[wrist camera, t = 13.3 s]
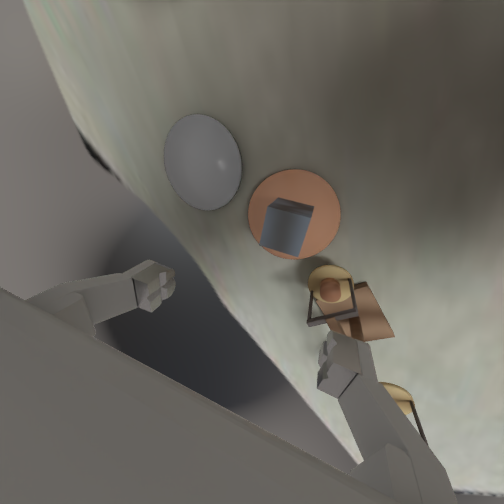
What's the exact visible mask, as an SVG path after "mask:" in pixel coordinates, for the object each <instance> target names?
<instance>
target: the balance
mask: <svg viewBox="0 0 504 504" xmlns="http://www.w3.org/2000/svg"><path fill="white" fill-rule="evenodd" d="M308 288H309V291H310V292H311V293H310V302H309V310H308V319H307V324H308V326H309V327H311V326H316V325H320V324H325V323H327V324H328V326H329V328H330V330H333V331H336V332H338V333H341V334H344V335H346V336H349V337H352V338H354V339H357V340H360V341H363V342H366V341H372V340H378V339H385V338H391V337H395V336H394V333H393V331H392V329H391V327H390V325H389V323H388V321H387V319H386V318H385V316H384V314H383V312H382V310H381V308H380V306H379V305H378V303H377V301H376V299H375V297H374V295H373V293H372V291H371V290H370V288H369V286H368V284H367V282H363V283H360V284H357V285H354V282H353V278H352V276H351V275H350V274H349V272H348V271H346V270H345V269H343V268H342V267H339V266H336V265H324V266H320V267H318V268H316V269H315V270H313V271H312V272H311V274H310V276H309V279H308ZM313 296H314V297H315V298H316V302H317V304H318V305H319V307H320V309H321V310H322V312H323V313H324V316H319V317H315V318H311V314H312V303H313ZM379 383H381V384H383V386H384V387H385V388H386V390H387V391H388V393H389V394H390V395H391V397H392V398H393V399H394V401H395V402H396V403H397V405H398V406H399V407H400V409H401V410H402V411H403V413H404V414H405V415H407V414H409V413H411V412H413V415H414V418H415V420H416V423H417V426H418V429H419V432H420V435H421V437H422V438H423V440H424V441H425V443H426V444H427V445H428V443H427V440H426V437H425V435H424V432H423V429H422V426H421V423H420V421H419V418H418V415H417V412H416V409H415V404H414V401H413V398H412V396H411V395H410V393H409V392H408V391H406V390H405V389H403V388H402V387H400V386H397V385H395V384H391V383H386V382H379ZM428 447H429V446H428Z"/></svg>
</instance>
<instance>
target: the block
mask: <svg viewBox="0 0 504 504" xmlns="http://www.w3.org/2000/svg"><path fill="white" fill-rule="evenodd" d="M313 209H314V206H311V205H307V204H303V203H299V202H295V201H291V200H287V199H283V198H279V197H278V198H277V199H276V200H275V201H273V202H272V203H271V204H270V205H269V206H267V210H266V215H265V220H264V224H263V229H262V234H261V239H260V243H259V245H260V246H263V247H266V248H269V249H273V250H276V251H279V252H282V253H285V254H289V255H292V256H295V257H298V256H299V253H300V250H301V247H302V244H303V241H304V239H305V236H306V233H307V230H308V227H309V224H310V221H311V217H312V213H313Z"/></svg>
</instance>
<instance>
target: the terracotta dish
mask: <svg viewBox="0 0 504 504" xmlns="http://www.w3.org/2000/svg"><path fill="white" fill-rule="evenodd" d="M278 197H279V198H283V199H287V200H291V201H295V202H299V203H303V204H307V205H311V206H314V209H313V213H312V217H311V221H310V224H309V227H308V230H307V233H306V236H305V239H304V241H303V244H302V247H301V250H300V253H299V256H298V257H295V256H292V255H289V254H285V253H282V252H279V251H276V250H273V249H269V248H266V247H263V246H262V247H263V248H264V249H265V250H267V251H268V252H270V253H271V254H273V255H275V256H278V257H281V258H285V259H304V258H308V257H311V256H313V255H315V254H317V253H319V252H321V251H322V250H323V249H325V248H326V247H327V246H328V245H329V244H330V243H331V241H332V240H333V238H334V237H335V235H336V233H337V231H338V228H339V224H340V218H341V211H340V205H339V201H338V198H337V196H336V193H335V192H334V190H333V188H332V187H331V186H330V185H329V184H328V182H326V181H325V180H324V179H323V178H321V177H320V176H318V175H317V174H314V173H312V172H309V171H306V170H300V169H290V170H284V171H281V172H278V173H275V174H273V175H271V176H270V177H268V178H267V179H265V180H264V181H263V182H262V183H261V184H260V185H259V186H258V187H257V189H256V190H255V192H254V194H253V195H252V198H251V200H250V204H249V209H248V220H249V225H250V229H251V231H252V234H253V235H254V237H255V239H256V240H257V242H258V243H260V239H261V234H262V229H263V224H264V220H265V215H266V210H267V206H269V205H270V204H271V203H272V202H273V201H275V200H276V199H277V198H278Z"/></svg>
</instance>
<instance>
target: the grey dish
mask: <svg viewBox="0 0 504 504" xmlns="http://www.w3.org/2000/svg"><path fill="white" fill-rule="evenodd" d="M164 164H165V169H166V173H167V176H168V179H169V181H170V183H171V185H172V187H173V189H174V190H175V192H176V193H177V194H178V195H179V196H180V198H181V199H182V200H184V201H185V202H186V203H187V204H189V205H191V206H192V207H194V208H197V209H201V210H214V209H218V208H220V207H222V206H224V205H226V204H227V203H228V202H229V201H230V200H231V199H232V198H233V197H234V196H235V194H236V192H237V190H238V188H239V185H240V182H241V177H242V160H241V155H240V151H239V148H238V145H237V143H236V141H235V139H234V137H233V136H232V134H231V133H230V131H229V130H228V129H227V128H226V127H225V126H224V125H223V124H222V123H220V122H219V121H217V120H216V119H214V118H211V117H209V116H206V115H201V114H193V115H188V116H186V117H184V118H182V119H180V120H179V121H178V122H176V124H175V125H174V126H173V127H172V129H171V130H170V132H169V134H168V136H167V139H166V142H165V147H164Z"/></svg>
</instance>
